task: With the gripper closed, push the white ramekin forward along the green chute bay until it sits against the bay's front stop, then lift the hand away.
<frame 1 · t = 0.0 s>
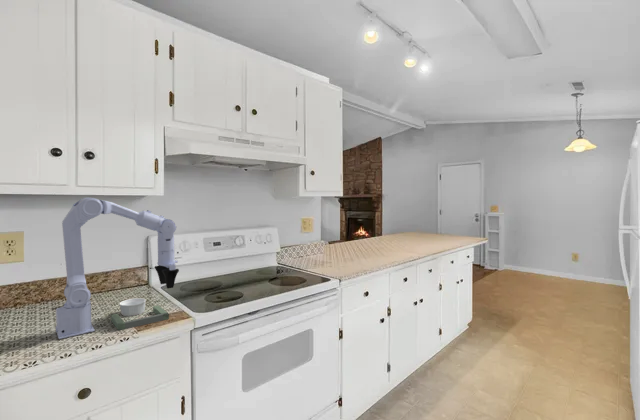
hand: (166, 285, 131), 10 cm above the counter, tool pointing down, fingers open, 7 cm apart
ramekin: (133, 313, 131), on the counter
chute bay: (140, 319, 123), on the counter
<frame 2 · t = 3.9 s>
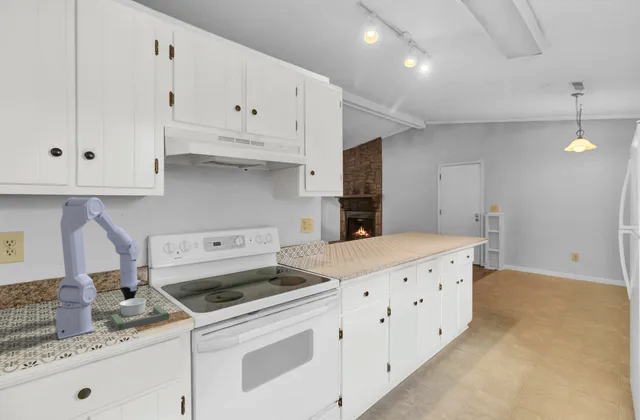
hand: (129, 305, 135), 1 cm above the counter, tool pointing down, fingers closed
ramekin: (133, 313, 131), on the counter, touching gripper
everything else where it was.
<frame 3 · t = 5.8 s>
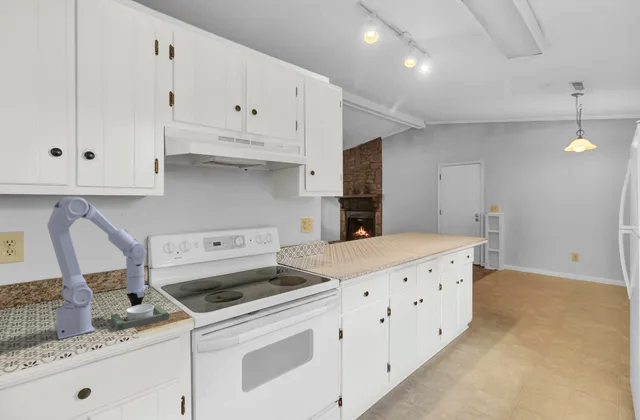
hand: (136, 312, 127), 1 cm above the counter, tool pointing down, fingers closed
ramekin: (140, 320, 123), on the counter, touching chute bay, gripper
everything else where it was.
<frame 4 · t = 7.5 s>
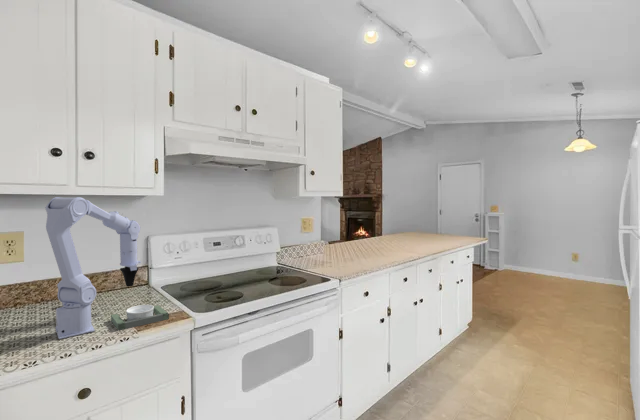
hand: (129, 285, 133), 9 cm above the counter, tool pointing down, fingers closed
ramekin: (140, 320, 123), on the counter
everything else where it was.
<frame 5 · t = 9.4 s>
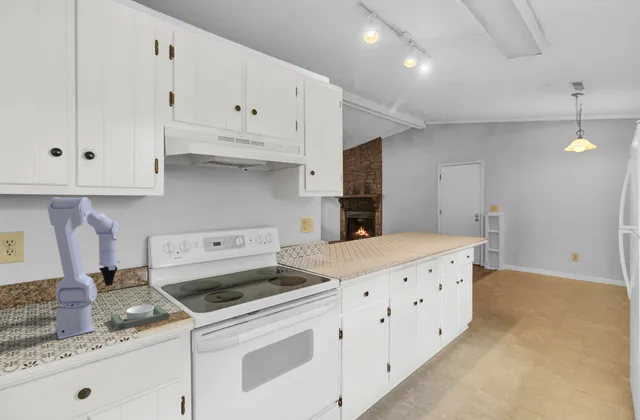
hand: (108, 285, 134), 9 cm above the counter, tool pointing down, fingers closed
nothing on the counter moved.
at the end: ramekin 0.1 cm off-centre on the chute bay, point 0.0 cm above the chute bay's base; ramekin tilted 0°; ramekin moved 10.4 cm from its start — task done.
